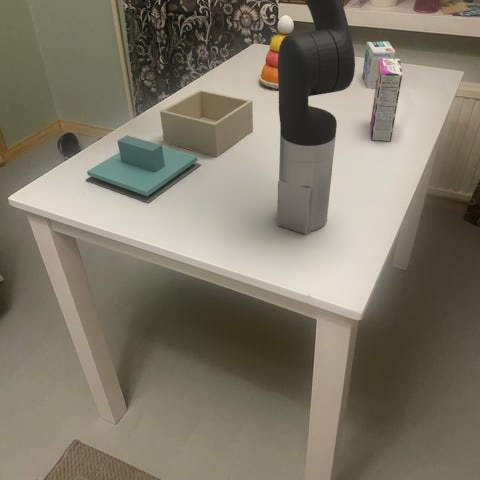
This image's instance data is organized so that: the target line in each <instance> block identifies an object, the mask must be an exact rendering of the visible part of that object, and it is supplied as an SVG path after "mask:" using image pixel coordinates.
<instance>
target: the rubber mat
mask: <svg viewBox="0 0 480 480" xmlns="http://www.w3.org/2000/svg"><path fill="white" fill-rule="evenodd" d="M201 166H202V163H198V162H195V163H194V164H192V165H191V166H189V167H188V168H187V169H185V170H184V171H182V172H181V173H180V174H178V175H177V176H175V177H174V178H172V179H171V180H170V181H168V182H167V183H165V184H164V185H163V186H161V187H160V188H158V189H157V190H156V191H154V192H153V193H151V194H150V195H148V196H145V195H142V194H140V193H137V192H134V191H131V190H128V189H125V188H123V187H120V186H117V185H114V184H111V183H108V182H106V181H103V180H100V179H97V178H94V177H91V176H89V177H87V178H86V179H85V181H86V182H89V183H91V184H94V185H97V186H100V187H103V188H105V189H106V190H110V191H112V192H117V193H119V194H121V195H124V196H127V197H129V198H132V199H135V200H138V201H140V202H144V203H146V204H150V203H152V201H154V200H155V199H156V198H158V197H159V196H161V195H162V194H163V193H165V192H166V191H168V190H169V189H171V188H172V187H173V186H175V185H176V184H177V183H179V182H180V181H182V180H183V179H184V178H186V177H187V176H188V175H190V174H191V173H193V172H194V171H195V170H197V169H198V168H200V167H201Z"/></svg>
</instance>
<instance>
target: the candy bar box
mask: <svg viewBox="0 0 480 480" xmlns="http://www.w3.org/2000/svg"><path fill="white" fill-rule="evenodd" d="M402 79H403V70H402V64H401V59H400V58H394V59H392V58H387V59H386V58H380V59H379V65H378V72H377V80H376V87H375V88H374V89H375V90H374V96H373V102H372V103H373V104H372V109H371V117H370V118H371V119H370V136H371V137H370V138H371V141H373V142H388V143H389V142H392V137H393V130H394V125H395V121H396V113H397V108H398V102H399V97H400V89H401V84H402Z"/></svg>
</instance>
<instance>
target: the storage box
mask: <svg viewBox="0 0 480 480" xmlns="http://www.w3.org/2000/svg"><path fill="white" fill-rule="evenodd" d="M253 105H254V104H253V100H251V99H246V98H241V97H236V96H231V95H227V94H222V93H218V92H212V91H208V90H203V89H199V90H197V91H195V92H193V93H191V94H189V95H187V96H185V97H184V98H182V99H180V100H178V101H176V102H174V103H173V104H170V105H168V106H167V107H165V108H163V109H161V110H160V111H159V116H160V123H161V129H162V135H163V142H164V143H166V144H169V145H173V146H176V147H179V148H183V149H188V150H191V151H195V152H198V153H200V154H205V155H208V156H211V157H215V158H218V157H220V156H221V155H222V154H223V153H226V152H227V151H228V150H229V149H231V148H232V147H234V146H235V145H236V144H237V143H239V142H240V141H242V140H243V139H244V138H246V137H247V136H248V135H250V134H251V133H253V131H254V121H253V120H254V119H253V118H254V116H253V111H254V110H253Z"/></svg>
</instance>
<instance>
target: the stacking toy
mask: <svg viewBox="0 0 480 480" xmlns="http://www.w3.org/2000/svg"><path fill="white" fill-rule="evenodd" d="M276 27H277V31H278V32H279V33H277V34H276V35H274V36H273V38H272V39H271V41H270V44H269V50H268V51H267V54H266V56H265V60H264V62H265V63H264V65H263V67H262V70H261V73H260V75H259V76H258V77H259V78H258V79H259V82H260V83H261V84H262V85H264V86H265V87H269V88H272V89H275V90H279V86H278V53H279V47H280V44H281V42H282V40H283V39H284V37H285V36H287V35H289V34H292V32H293V30H294V29H295V28H294V27H295V25H294V21H293V19H292V18H291V16H289V15H286V14H285V15H283V16H281V17H280V18H279V20H278V22H277V26H276Z"/></svg>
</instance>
